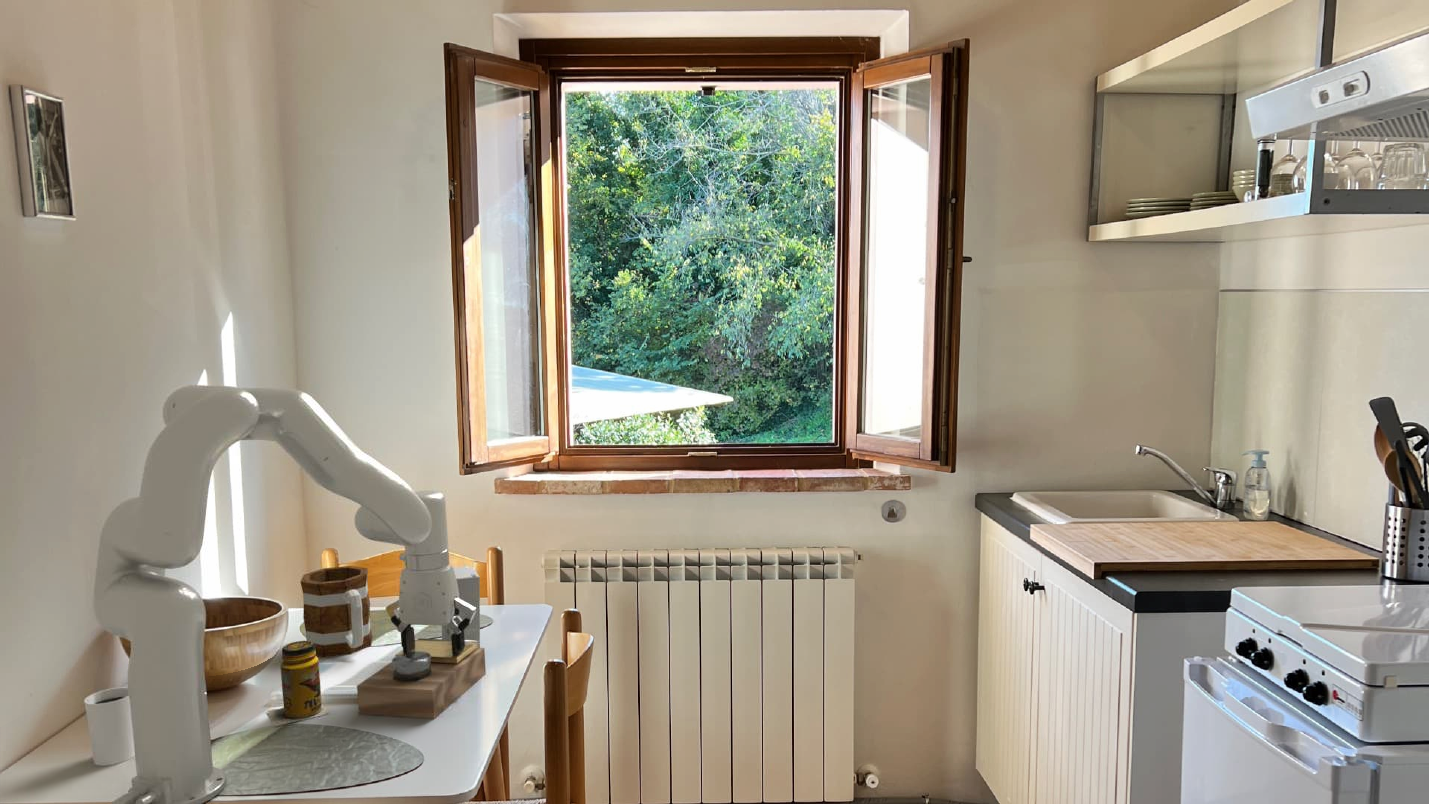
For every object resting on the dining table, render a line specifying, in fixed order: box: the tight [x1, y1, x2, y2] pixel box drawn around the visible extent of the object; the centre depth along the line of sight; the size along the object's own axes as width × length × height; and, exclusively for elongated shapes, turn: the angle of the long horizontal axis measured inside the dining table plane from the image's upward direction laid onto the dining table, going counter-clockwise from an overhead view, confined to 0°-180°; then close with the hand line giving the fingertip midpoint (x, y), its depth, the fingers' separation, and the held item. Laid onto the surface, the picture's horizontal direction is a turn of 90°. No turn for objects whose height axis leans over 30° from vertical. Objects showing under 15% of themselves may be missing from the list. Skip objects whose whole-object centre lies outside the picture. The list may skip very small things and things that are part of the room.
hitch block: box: [356, 647, 487, 720], centre depth 175 cm, size 20×14×5 cm
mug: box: [299, 565, 374, 658], centre depth 198 cm, size 20×14×15 cm
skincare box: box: [441, 565, 481, 648], centre depth 197 cm, size 8×7×16 cm
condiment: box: [267, 640, 329, 727], centre depth 167 cm, size 7×8×12 cm
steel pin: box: [391, 651, 432, 682], centre depth 170 cm, size 6×6×8 cm
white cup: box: [83, 686, 135, 767], centre depth 153 cm, size 7×7×10 cm
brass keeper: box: [395, 637, 479, 663], centre depth 180 cm, size 9×12×1 cm
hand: (433, 652), depth 178 cm, fingers open, 9 cm apart
